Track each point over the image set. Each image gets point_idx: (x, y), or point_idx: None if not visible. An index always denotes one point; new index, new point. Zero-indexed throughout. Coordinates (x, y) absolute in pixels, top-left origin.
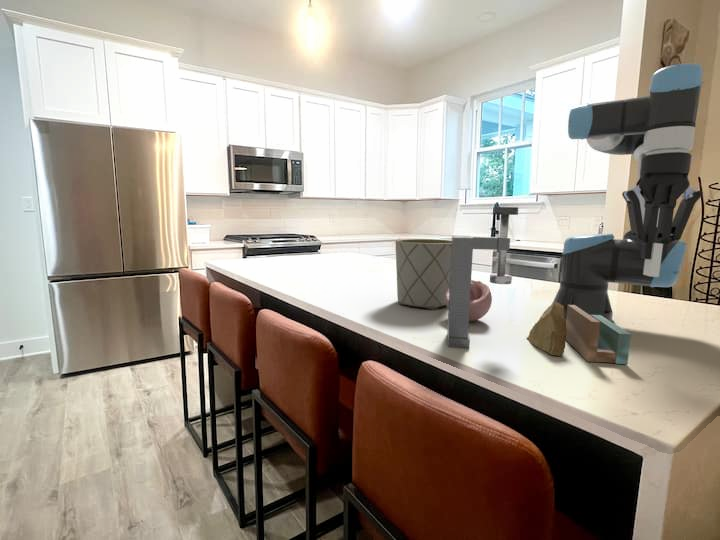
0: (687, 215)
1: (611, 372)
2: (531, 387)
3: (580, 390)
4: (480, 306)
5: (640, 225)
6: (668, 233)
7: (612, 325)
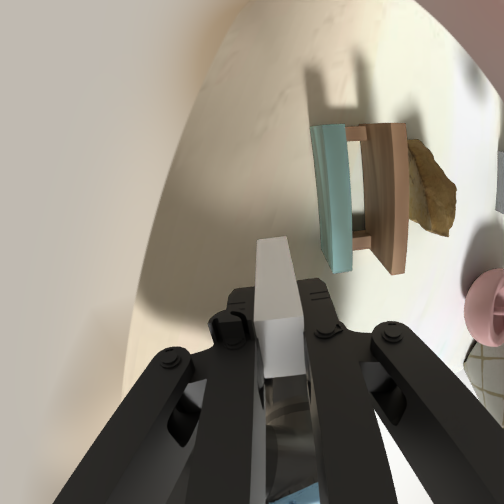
0: (85, 479)
1: (343, 87)
2: (440, 29)
3: (393, 22)
4: (492, 278)
5: (436, 386)
6: (221, 377)
7: (339, 187)
